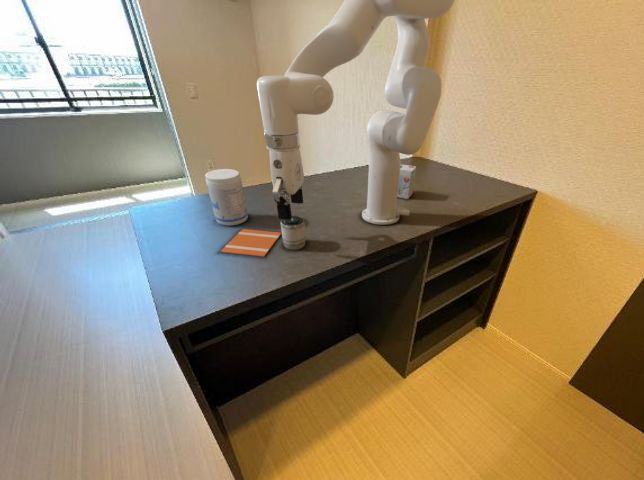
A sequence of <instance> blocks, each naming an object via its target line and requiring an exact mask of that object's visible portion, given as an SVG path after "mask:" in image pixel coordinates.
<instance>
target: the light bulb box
mask: <svg viewBox="0 0 644 480" xmlns="http://www.w3.org/2000/svg"><path fill="white" fill-rule="evenodd" d="M416 173H417V166H415V165H408V164H402V163H401V165H400V174H399V183H398V192H397V198H400V199H405V200H409V199H410V197H412V195H413V193H414V185H415V179H416Z"/></svg>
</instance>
